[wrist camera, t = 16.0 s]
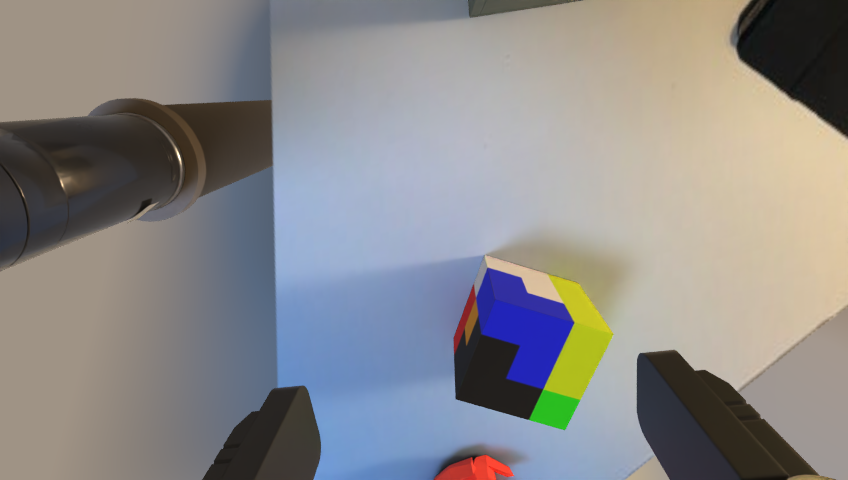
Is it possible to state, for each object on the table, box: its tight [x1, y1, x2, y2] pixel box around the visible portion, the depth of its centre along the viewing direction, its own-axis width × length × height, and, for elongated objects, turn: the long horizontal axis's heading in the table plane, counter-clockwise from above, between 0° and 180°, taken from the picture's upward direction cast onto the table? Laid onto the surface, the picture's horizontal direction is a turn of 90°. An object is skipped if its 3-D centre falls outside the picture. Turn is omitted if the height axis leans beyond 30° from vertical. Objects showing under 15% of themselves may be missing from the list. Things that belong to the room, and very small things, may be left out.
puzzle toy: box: [454, 255, 614, 430], centre depth 42 cm, size 10×10×10 cm
